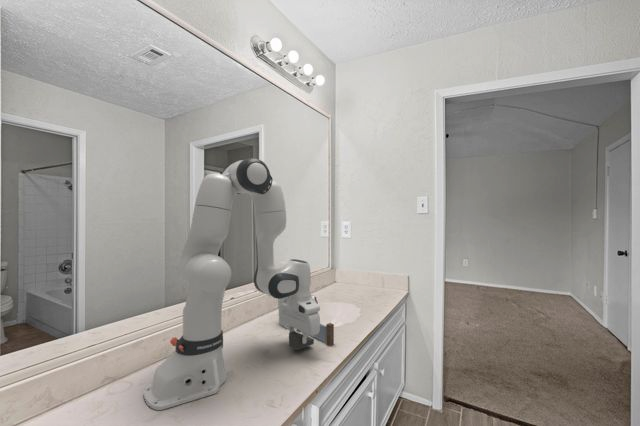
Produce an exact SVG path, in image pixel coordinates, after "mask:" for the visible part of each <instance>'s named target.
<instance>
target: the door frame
mask: <svg viewBox="0 0 640 426" xmlns="http://www.w3.org/2000/svg"><path fill="white" fill-rule="evenodd" d="M325 326H326V342H325V344H326V346H329V347H333V346H335V343H334V341H335V340H334V339H335V335H334V334H335V333H334V332H335V331H334V330H335V327H334V323H332V322H329V323H326V325H325ZM296 332H297V333H302V331H299V330H297V329H296Z"/></svg>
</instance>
